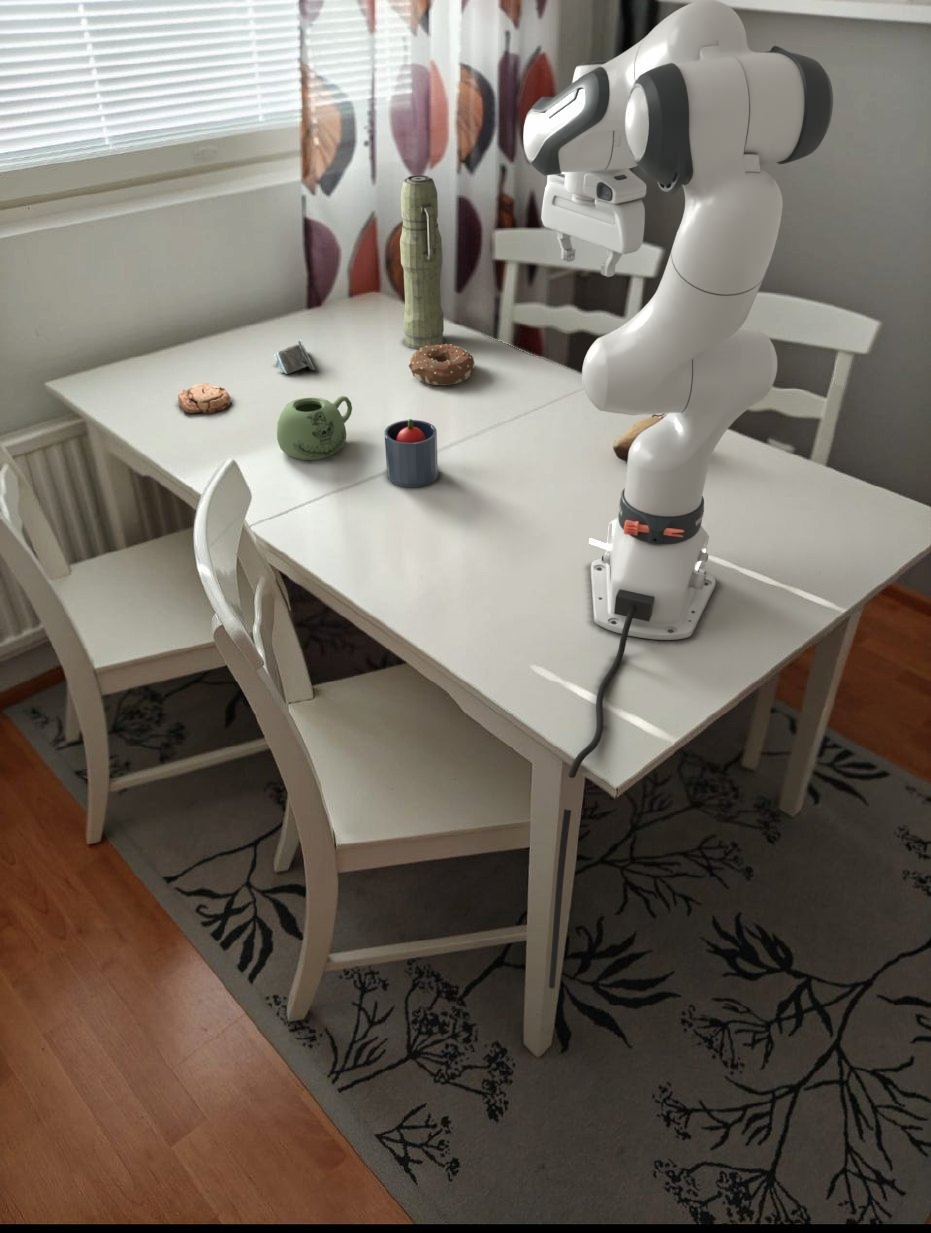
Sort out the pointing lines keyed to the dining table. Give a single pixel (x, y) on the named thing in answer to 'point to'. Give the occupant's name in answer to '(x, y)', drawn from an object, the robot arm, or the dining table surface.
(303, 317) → the dining table surface
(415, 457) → the cup
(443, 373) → the donut
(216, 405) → the cookie
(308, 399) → the mug
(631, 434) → the vegetable
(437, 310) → the thermos
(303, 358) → the grey blocky piece
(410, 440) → the pepper
